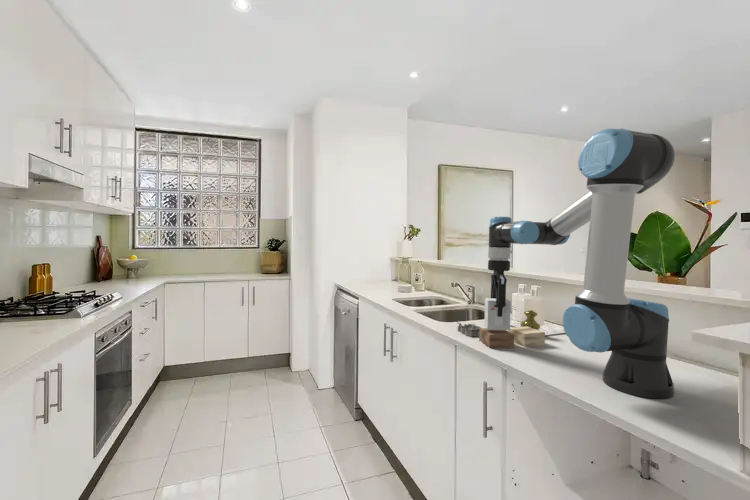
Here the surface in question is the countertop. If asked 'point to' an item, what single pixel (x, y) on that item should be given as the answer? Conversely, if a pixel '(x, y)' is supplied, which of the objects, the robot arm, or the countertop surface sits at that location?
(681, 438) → the countertop surface
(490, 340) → the walnut block
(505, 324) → the small box
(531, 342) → the maple block
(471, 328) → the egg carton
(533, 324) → the olive-gold lumpy piece
